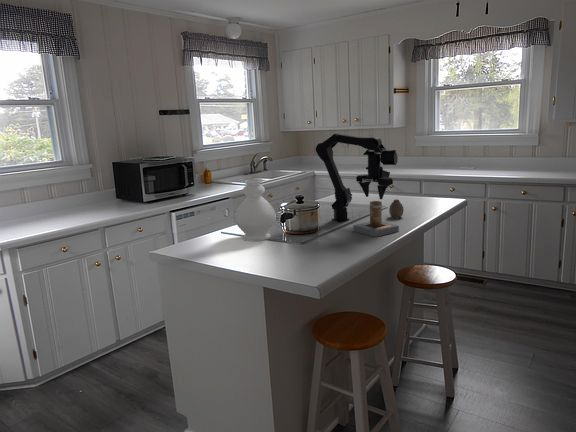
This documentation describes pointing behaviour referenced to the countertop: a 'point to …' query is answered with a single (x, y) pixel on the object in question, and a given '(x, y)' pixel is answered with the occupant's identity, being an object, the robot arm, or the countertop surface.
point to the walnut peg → (375, 214)
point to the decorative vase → (255, 213)
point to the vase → (396, 209)
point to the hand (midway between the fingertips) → (374, 198)
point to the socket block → (376, 229)
